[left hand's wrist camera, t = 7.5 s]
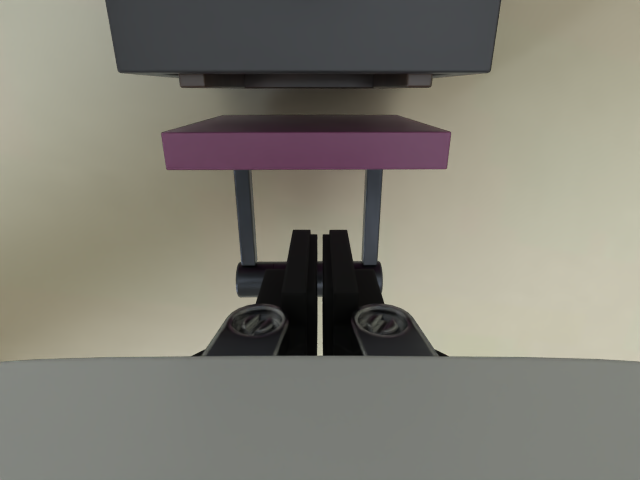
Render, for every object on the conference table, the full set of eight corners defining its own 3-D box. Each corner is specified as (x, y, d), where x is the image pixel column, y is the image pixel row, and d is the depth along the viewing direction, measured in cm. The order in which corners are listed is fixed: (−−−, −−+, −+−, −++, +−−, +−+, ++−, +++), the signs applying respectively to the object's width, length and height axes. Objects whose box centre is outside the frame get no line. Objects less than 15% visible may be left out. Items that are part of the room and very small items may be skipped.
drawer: (388, 241, 23) (428, 323, 15) (233, 242, 23) (188, 325, 15) (420, -217, 16) (533, -544, 8) (191, -220, 15) (59, -554, 7)
